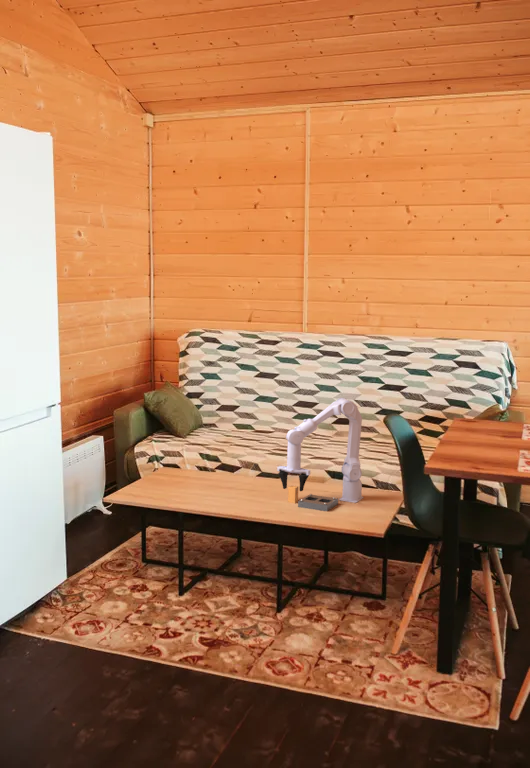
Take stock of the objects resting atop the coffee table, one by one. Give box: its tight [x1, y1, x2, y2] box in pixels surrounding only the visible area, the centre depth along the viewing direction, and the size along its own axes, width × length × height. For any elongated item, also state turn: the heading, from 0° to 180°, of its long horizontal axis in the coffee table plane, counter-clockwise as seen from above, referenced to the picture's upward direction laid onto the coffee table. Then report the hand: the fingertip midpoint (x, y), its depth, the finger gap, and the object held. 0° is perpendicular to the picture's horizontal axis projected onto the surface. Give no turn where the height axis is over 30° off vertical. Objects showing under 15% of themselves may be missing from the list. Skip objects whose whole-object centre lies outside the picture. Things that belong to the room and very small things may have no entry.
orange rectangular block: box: [287, 485, 299, 504], centre depth 328 cm, size 3×3×6 cm
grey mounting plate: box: [297, 493, 339, 512], centre depth 323 cm, size 12×13×3 cm
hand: (293, 489), depth 328 cm, fingers open, 7 cm apart
